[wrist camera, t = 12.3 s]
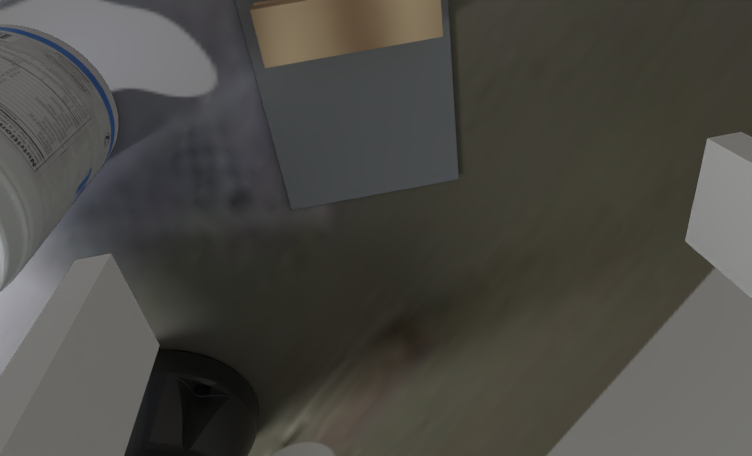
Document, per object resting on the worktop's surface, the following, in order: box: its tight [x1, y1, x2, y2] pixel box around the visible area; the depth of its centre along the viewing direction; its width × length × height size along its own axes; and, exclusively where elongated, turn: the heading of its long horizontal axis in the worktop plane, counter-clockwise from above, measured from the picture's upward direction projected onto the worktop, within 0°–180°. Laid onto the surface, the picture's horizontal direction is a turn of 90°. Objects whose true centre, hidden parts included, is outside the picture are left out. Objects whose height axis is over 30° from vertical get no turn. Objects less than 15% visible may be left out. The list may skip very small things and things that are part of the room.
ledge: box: [250, 0, 443, 68], centre depth 29 cm, size 10×3×3 cm, turn 98°
